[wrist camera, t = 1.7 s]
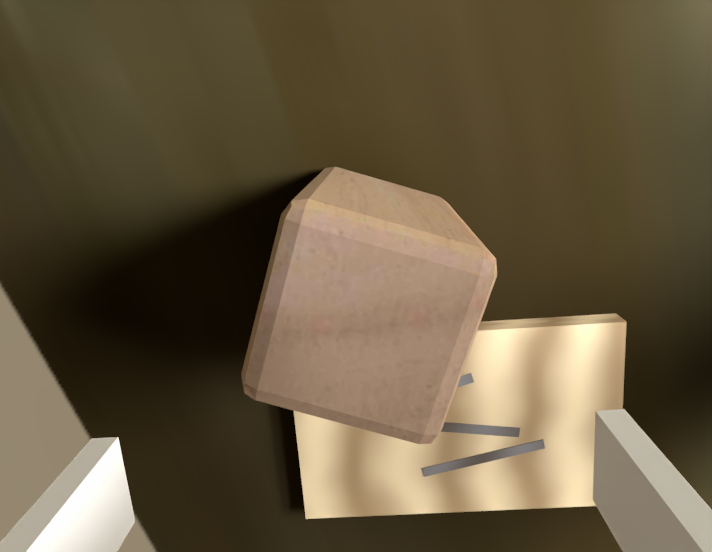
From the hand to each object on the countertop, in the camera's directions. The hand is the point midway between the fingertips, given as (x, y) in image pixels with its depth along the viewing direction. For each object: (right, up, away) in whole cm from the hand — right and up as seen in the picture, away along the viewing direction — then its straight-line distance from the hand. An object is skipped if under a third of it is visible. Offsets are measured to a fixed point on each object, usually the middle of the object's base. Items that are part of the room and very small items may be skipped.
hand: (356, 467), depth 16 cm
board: (+8, -6, +33) cm, 34 cm away
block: (+1, +8, +30) cm, 31 cm away
